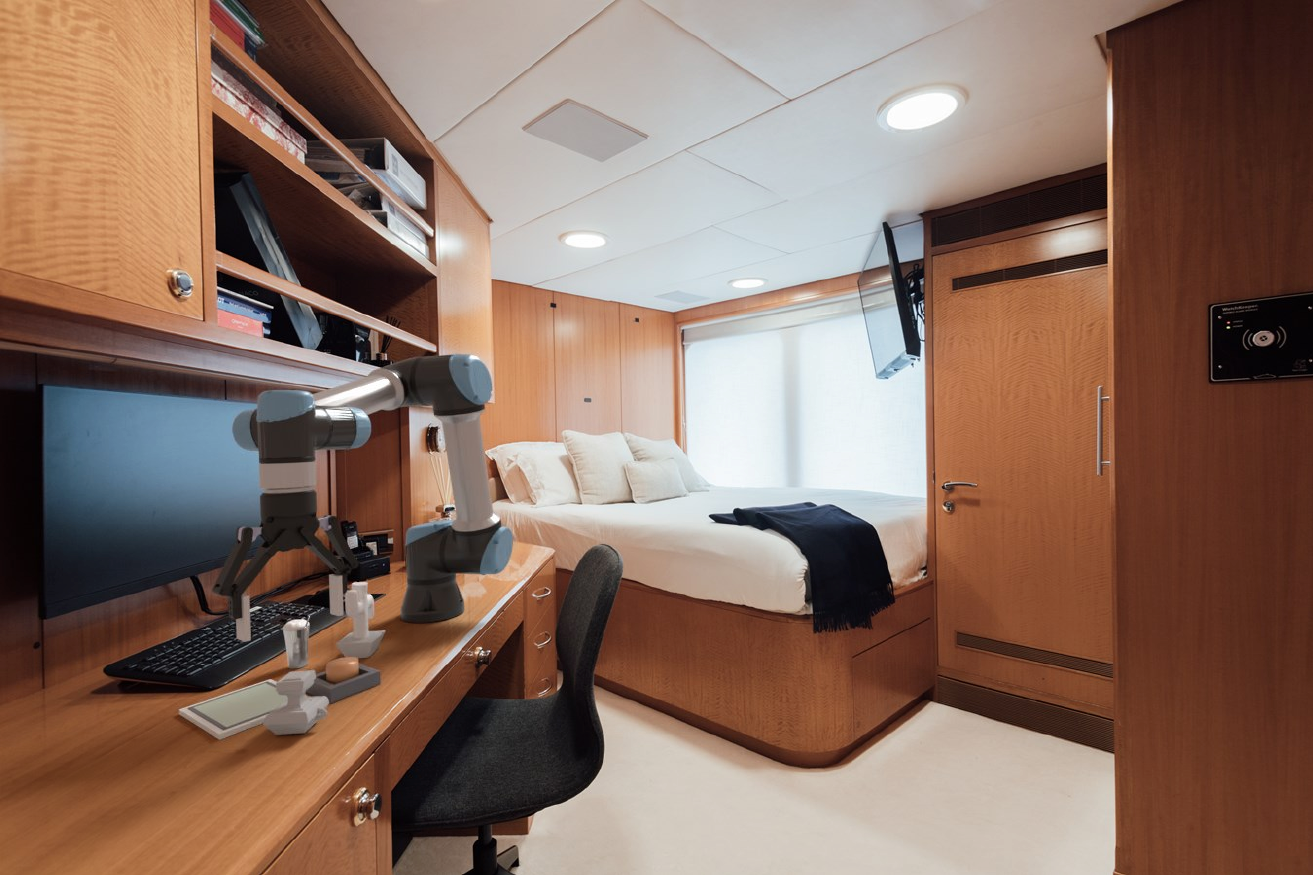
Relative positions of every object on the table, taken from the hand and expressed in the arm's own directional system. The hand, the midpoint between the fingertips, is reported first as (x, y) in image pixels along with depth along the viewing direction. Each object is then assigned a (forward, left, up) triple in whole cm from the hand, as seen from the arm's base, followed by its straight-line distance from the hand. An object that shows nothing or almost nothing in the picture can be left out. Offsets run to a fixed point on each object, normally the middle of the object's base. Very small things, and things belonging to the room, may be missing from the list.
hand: (293, 626), depth 93 cm
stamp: (0, 0, -16) cm, 16 cm away
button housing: (-12, -9, -16) cm, 22 cm away
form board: (+1, -15, -16) cm, 22 cm away
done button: (-12, -9, -14) cm, 21 cm away
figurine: (-23, -22, -16) cm, 36 cm away
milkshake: (-13, -27, -16) cm, 34 cm away
